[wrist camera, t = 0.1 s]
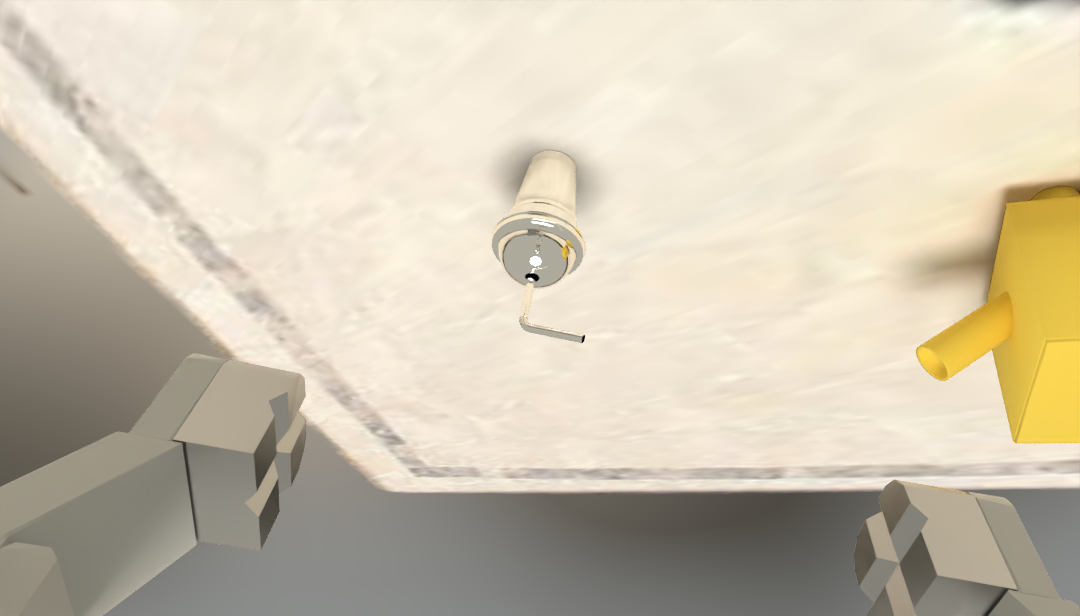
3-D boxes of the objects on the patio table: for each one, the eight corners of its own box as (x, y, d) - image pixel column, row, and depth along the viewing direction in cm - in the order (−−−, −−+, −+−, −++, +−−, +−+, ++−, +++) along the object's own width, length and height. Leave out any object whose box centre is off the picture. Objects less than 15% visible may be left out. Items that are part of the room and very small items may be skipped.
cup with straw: (527, 121, 74) (488, 293, 62) (616, 157, 76) (595, 330, 64) (497, 180, 81) (457, 345, 69) (580, 212, 83) (554, 378, 71)
